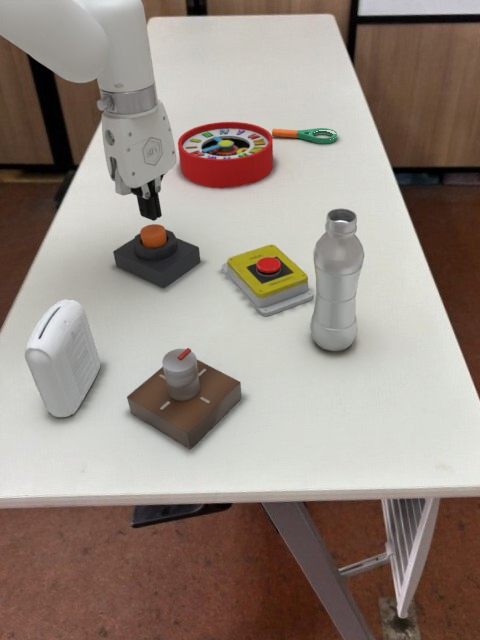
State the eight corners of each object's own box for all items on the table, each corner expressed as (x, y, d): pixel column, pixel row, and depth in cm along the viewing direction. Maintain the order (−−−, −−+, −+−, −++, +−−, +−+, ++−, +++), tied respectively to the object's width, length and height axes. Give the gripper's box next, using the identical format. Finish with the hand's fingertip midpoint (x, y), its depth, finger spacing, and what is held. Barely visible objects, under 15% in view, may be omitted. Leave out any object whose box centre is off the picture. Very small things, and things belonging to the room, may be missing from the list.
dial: (186, 405, 69) (181, 374, 65) (161, 392, 70) (154, 361, 67) (206, 385, 71) (202, 354, 68) (181, 373, 73) (176, 342, 69)
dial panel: (130, 412, 72) (126, 395, 70) (183, 367, 78) (181, 350, 76) (190, 449, 68) (187, 432, 66) (241, 398, 74) (240, 380, 71)
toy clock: (292, 142, 118) (210, 169, 110) (291, 169, 122) (212, 197, 114) (237, 114, 131) (160, 137, 122) (239, 139, 135) (164, 163, 126)
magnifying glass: (337, 133, 136) (337, 126, 134) (336, 144, 131) (336, 137, 130) (274, 131, 137) (274, 124, 136) (270, 141, 133) (270, 134, 132)
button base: (116, 267, 96) (110, 241, 93) (153, 243, 102) (149, 218, 98) (164, 289, 91) (159, 263, 88) (200, 262, 97) (197, 237, 93)
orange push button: (137, 243, 93) (135, 232, 92) (154, 232, 95) (152, 221, 94) (154, 250, 91) (152, 239, 90) (172, 239, 94) (170, 228, 92)
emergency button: (263, 294, 83) (217, 246, 92) (263, 318, 85) (219, 268, 95) (316, 275, 86) (267, 230, 96) (315, 298, 89) (267, 252, 99)
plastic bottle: (323, 362, 78) (332, 235, 65) (301, 333, 83) (304, 209, 69) (364, 349, 80) (380, 223, 67) (340, 321, 85) (351, 197, 71)
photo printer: (76, 360, 79) (52, 289, 71) (105, 363, 79) (84, 292, 71) (42, 416, 72) (11, 344, 64) (74, 420, 71) (47, 348, 63)
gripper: (107, 121, 72) (134, 245, 84) (186, 86, 81) (200, 203, 93) (68, 109, 75) (99, 230, 88) (148, 77, 84) (166, 191, 97)
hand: (151, 216), depth 90 cm, fingers closed
